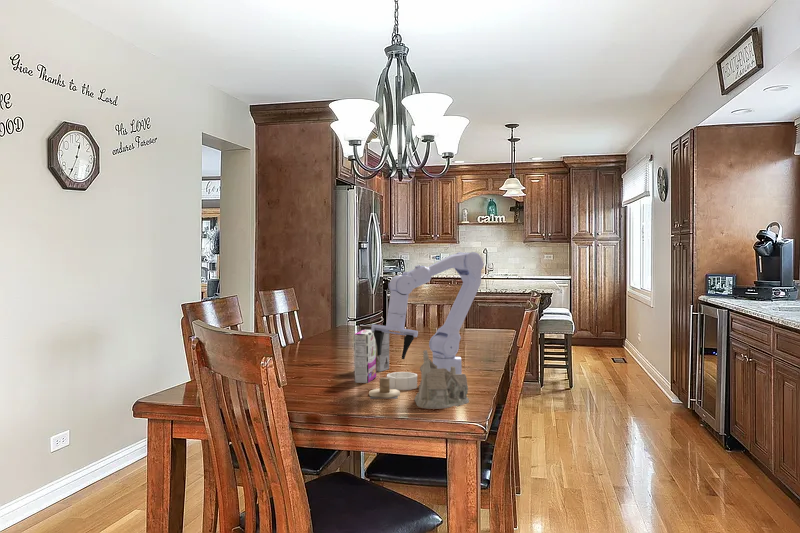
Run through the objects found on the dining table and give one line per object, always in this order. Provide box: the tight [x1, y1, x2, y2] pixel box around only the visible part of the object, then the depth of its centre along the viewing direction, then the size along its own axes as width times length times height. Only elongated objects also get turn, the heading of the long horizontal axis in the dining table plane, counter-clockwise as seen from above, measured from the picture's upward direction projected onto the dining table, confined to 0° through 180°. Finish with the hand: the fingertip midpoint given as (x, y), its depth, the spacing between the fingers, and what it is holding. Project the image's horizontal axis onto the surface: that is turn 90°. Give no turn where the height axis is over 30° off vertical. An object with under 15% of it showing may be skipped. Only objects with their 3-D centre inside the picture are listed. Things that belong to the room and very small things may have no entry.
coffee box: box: [360, 323, 390, 373], centre depth 220 cm, size 9×6×16 cm
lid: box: [368, 376, 401, 398], centre depth 178 cm, size 9×9×5 cm
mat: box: [369, 396, 399, 400], centre depth 178 cm, size 8×10×1 cm
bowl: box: [386, 371, 418, 391], centre depth 189 cm, size 10×10×4 cm
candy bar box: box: [353, 330, 377, 384], centre depth 200 cm, size 11×5×16 cm, turn 168°
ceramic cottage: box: [414, 349, 470, 410], centre depth 170 cm, size 16×16×15 cm
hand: (390, 357), depth 187 cm, fingers open, 7 cm apart
